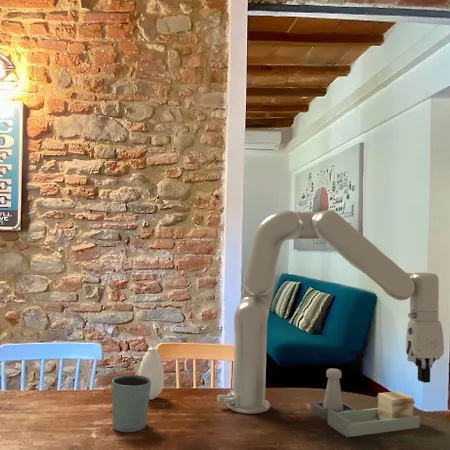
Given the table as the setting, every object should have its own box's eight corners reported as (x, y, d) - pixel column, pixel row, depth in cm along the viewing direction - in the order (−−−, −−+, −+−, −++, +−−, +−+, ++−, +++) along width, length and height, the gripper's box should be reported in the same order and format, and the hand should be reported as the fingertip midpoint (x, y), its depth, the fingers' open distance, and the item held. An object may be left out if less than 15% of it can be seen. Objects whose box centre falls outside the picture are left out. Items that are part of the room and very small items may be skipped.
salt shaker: (343, 419, 146) (344, 373, 146) (322, 417, 147) (323, 371, 147) (342, 412, 152) (344, 367, 152) (322, 410, 153) (324, 366, 153)
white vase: (141, 393, 163) (143, 336, 163) (166, 395, 162) (168, 337, 162) (134, 401, 155) (136, 341, 156) (159, 403, 154) (161, 343, 155)
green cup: (107, 421, 139) (108, 376, 139) (144, 417, 143) (145, 373, 143) (114, 435, 130) (116, 387, 130) (154, 430, 134) (155, 383, 134)
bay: (346, 437, 133) (347, 421, 133) (327, 424, 142) (328, 409, 142) (419, 427, 142) (419, 412, 142) (397, 416, 150) (397, 402, 150)
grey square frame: (328, 422, 143) (328, 413, 143) (310, 411, 152) (311, 402, 152) (357, 419, 147) (357, 410, 147) (338, 408, 156) (338, 399, 156)
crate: (392, 426, 140) (393, 400, 140) (376, 417, 146) (377, 392, 146) (414, 423, 143) (414, 398, 143) (397, 415, 149) (398, 390, 149)
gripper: (412, 319, 142) (411, 387, 142) (454, 317, 147) (454, 382, 147) (393, 315, 149) (393, 380, 149) (435, 313, 154) (434, 375, 154)
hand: (423, 381), depth 148 cm, fingers closed
